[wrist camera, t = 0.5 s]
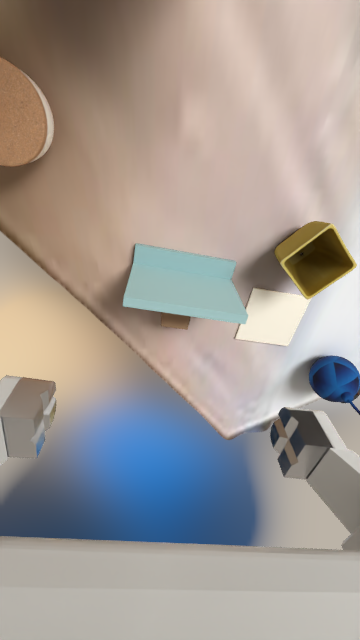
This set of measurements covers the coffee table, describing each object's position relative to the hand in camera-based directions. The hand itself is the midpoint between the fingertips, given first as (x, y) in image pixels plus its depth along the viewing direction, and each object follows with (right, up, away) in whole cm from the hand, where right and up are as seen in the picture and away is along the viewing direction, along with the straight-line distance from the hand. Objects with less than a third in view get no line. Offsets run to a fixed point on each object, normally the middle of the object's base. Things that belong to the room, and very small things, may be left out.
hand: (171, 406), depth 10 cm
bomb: (+34, -7, +55) cm, 65 cm away
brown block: (0, +6, +45) cm, 46 cm away
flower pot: (+21, +16, +40) cm, 48 cm away
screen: (+1, +13, +41) cm, 43 cm away
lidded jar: (-21, +31, +29) cm, 48 cm away
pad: (+19, +3, +48) cm, 52 cm away
